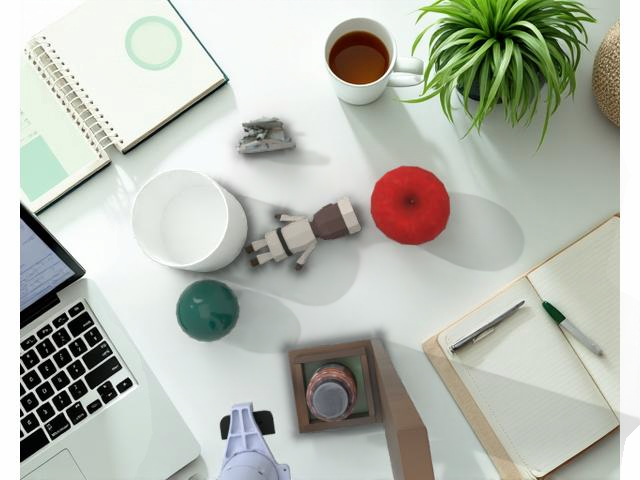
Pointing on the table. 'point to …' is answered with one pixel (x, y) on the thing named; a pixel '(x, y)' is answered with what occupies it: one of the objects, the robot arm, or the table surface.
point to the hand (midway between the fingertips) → (262, 453)
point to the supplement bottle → (332, 392)
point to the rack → (368, 402)
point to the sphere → (207, 310)
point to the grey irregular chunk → (264, 136)
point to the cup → (188, 221)
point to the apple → (410, 205)
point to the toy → (306, 233)
